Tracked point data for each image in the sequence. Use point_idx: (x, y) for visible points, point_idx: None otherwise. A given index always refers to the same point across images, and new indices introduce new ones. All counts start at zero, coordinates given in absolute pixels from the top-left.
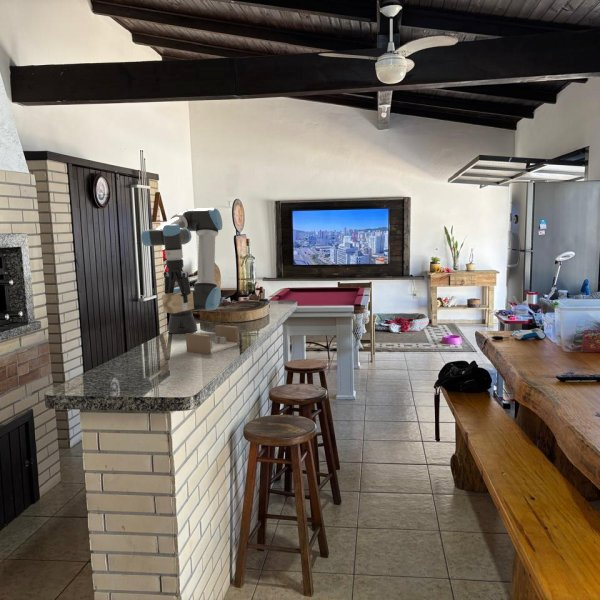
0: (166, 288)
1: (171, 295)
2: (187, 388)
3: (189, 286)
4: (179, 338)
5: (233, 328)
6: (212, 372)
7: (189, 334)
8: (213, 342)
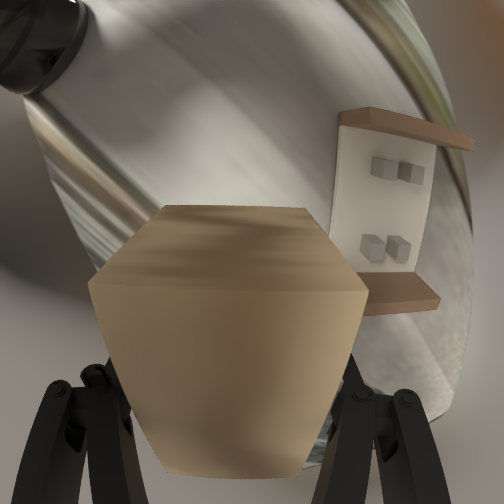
0: (84, 460)
1: (282, 477)
2: (437, 405)
3: (438, 456)
4: (115, 123)
5: (461, 148)
6: (453, 357)
7: (362, 315)
8: (357, 162)
